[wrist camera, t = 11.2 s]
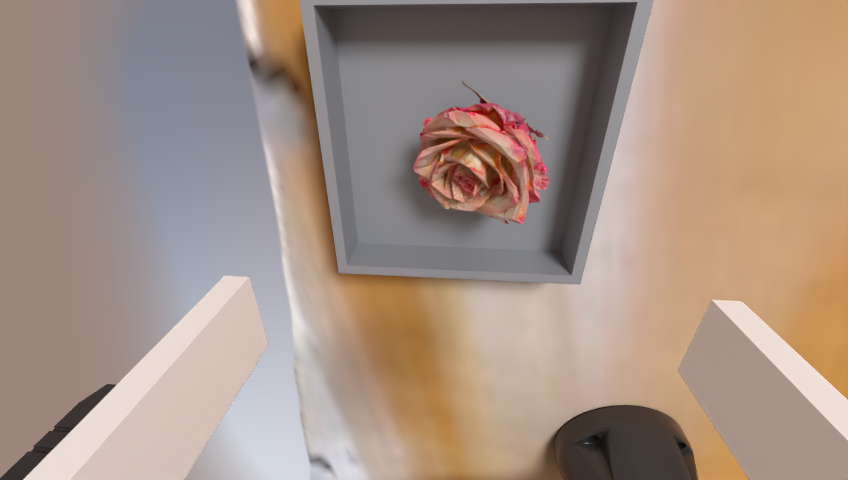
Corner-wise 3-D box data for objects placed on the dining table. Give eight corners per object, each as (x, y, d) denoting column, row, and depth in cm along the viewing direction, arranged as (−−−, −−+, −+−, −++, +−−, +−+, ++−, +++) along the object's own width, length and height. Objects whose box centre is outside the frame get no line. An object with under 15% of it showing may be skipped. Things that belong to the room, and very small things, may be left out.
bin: (624, -8, 23) (657, -17, 19) (565, 254, 33) (579, 284, 29) (323, -4, 24) (297, -12, 21) (352, 245, 34) (338, 273, 30)
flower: (492, 29, 22) (424, 94, 19) (604, 124, 23) (560, 206, 19) (436, 127, 31) (381, 185, 27) (519, 195, 31) (476, 261, 27)
